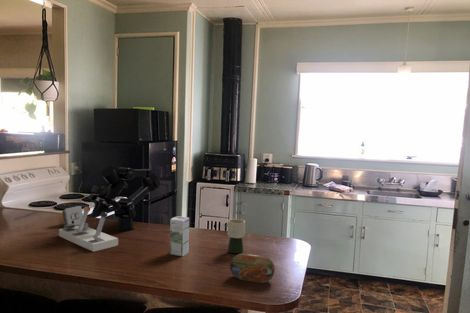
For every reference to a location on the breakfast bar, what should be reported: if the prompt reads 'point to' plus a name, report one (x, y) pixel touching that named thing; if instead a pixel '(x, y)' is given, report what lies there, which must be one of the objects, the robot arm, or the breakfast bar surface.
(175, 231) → the syrup box
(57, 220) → the breakfast bar surface
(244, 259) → the tin
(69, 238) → the control panel
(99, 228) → the lever
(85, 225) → the push button
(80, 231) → the copper ball joystick
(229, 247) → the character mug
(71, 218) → the electrical switch
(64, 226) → the block
